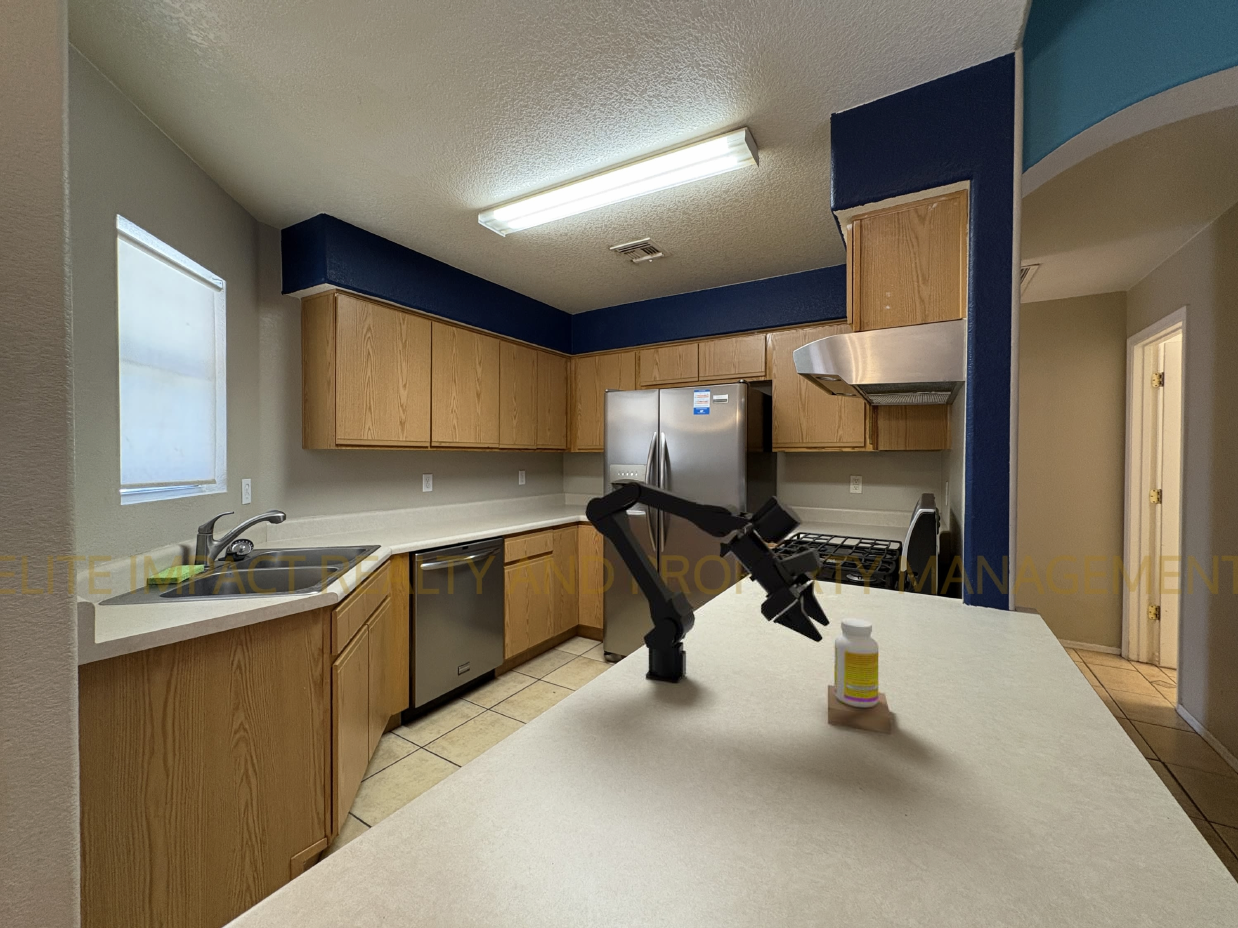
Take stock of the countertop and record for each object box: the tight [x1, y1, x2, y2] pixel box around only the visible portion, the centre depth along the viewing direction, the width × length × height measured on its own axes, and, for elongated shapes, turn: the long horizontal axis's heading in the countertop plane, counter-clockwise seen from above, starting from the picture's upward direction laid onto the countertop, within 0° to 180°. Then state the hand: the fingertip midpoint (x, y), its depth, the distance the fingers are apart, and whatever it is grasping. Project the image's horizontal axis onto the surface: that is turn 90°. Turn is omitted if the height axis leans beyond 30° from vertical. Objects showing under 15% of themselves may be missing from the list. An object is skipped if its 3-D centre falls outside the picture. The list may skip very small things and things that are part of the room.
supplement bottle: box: [833, 617, 879, 708], centre depth 86 cm, size 7×7×13 cm
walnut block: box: [827, 684, 892, 735], centre depth 86 cm, size 9×9×2 cm
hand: (824, 632), depth 89 cm, fingers open, 9 cm apart
